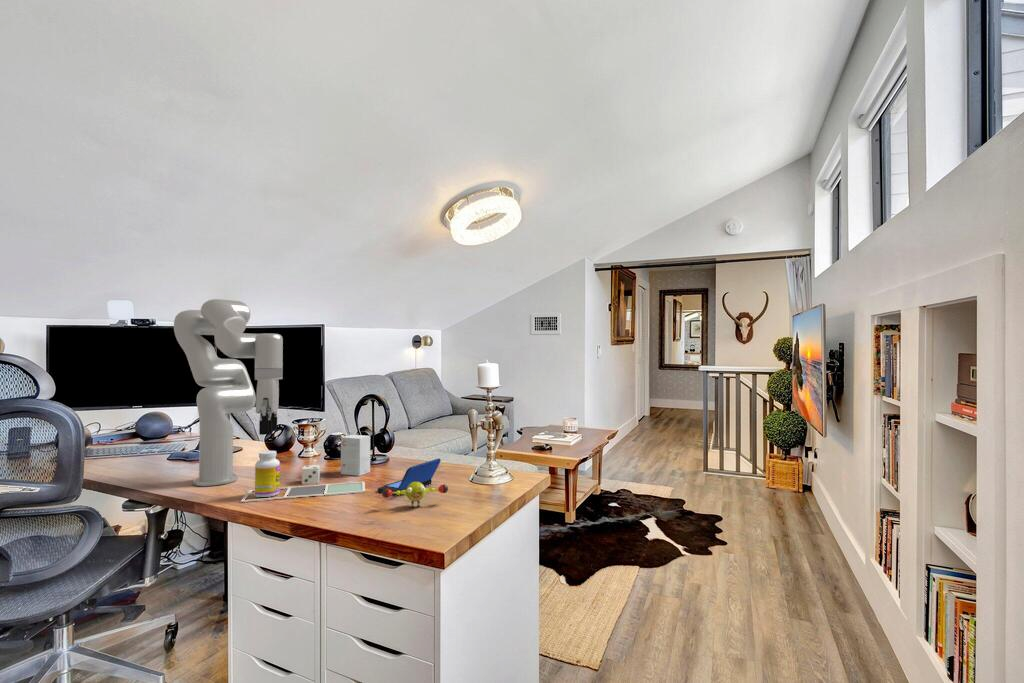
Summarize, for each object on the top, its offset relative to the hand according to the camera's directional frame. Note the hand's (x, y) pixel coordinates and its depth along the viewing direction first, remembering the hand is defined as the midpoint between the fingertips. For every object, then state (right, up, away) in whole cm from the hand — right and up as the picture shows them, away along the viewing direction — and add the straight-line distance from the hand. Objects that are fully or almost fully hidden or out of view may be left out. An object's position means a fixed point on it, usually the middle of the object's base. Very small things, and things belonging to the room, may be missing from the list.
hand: (268, 431), depth 146 cm
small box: (+17, -20, +27) cm, 38 cm away
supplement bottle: (0, -19, 0) cm, 19 cm away
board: (+10, -19, +3) cm, 22 cm away
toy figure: (+46, -19, -11) cm, 51 cm away
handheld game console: (+41, -20, +7) cm, 46 cm away
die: (+6, -19, +15) cm, 25 cm away
